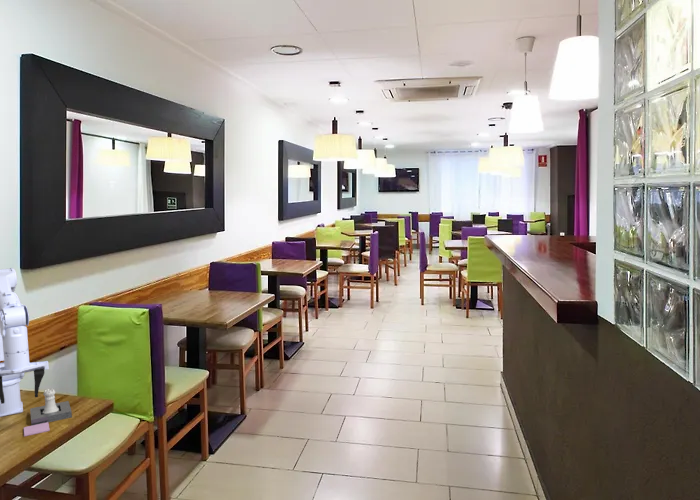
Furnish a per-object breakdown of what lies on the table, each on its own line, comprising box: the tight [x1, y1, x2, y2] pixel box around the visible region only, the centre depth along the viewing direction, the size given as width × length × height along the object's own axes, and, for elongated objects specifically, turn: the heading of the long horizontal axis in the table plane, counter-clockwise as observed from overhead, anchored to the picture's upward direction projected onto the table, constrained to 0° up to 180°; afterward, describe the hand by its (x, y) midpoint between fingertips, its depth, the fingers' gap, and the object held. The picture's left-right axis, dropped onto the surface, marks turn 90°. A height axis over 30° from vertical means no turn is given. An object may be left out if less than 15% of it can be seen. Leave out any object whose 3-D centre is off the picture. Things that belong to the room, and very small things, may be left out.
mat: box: [23, 422, 50, 437], centre depth 144 cm, size 6×6×1 cm
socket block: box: [29, 400, 73, 426], centre depth 153 cm, size 10×10×2 cm
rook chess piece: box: [42, 388, 59, 414], centre depth 153 cm, size 4×4×8 cm
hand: (19, 399), depth 140 cm, fingers open, 7 cm apart
